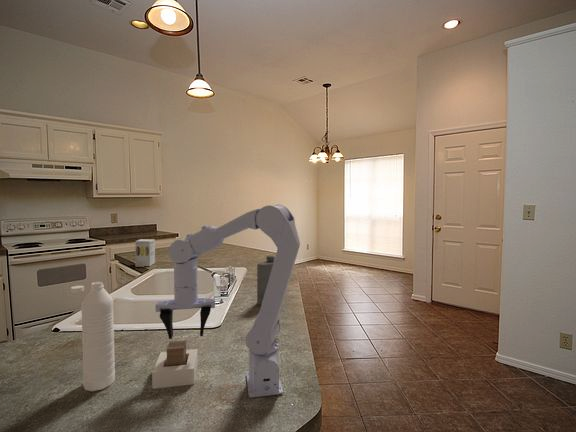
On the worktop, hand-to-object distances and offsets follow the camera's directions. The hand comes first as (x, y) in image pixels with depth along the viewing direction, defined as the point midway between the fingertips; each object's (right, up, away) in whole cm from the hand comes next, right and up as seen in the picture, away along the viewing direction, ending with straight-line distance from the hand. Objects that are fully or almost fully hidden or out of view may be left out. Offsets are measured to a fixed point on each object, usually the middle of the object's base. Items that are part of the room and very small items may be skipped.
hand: (186, 335), depth 78 cm
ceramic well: (-2, -9, -1) cm, 10 cm away
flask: (+18, -7, +55) cm, 58 cm away
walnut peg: (-2, -9, -1) cm, 10 cm away
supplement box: (-67, -1, +118) cm, 136 cm away
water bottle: (-20, -10, -6) cm, 23 cm away
